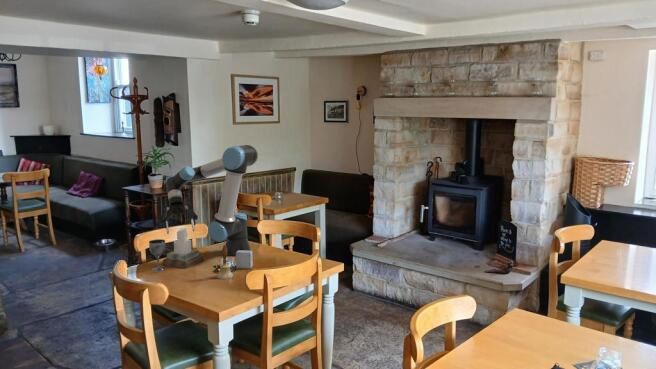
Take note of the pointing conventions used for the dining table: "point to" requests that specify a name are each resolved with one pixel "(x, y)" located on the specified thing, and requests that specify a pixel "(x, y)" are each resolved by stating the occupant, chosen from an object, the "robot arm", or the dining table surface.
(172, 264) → the tiered stand
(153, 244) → the wine glass
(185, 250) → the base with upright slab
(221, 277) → the hand bell
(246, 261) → the medicine box
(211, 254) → the dining table surface
